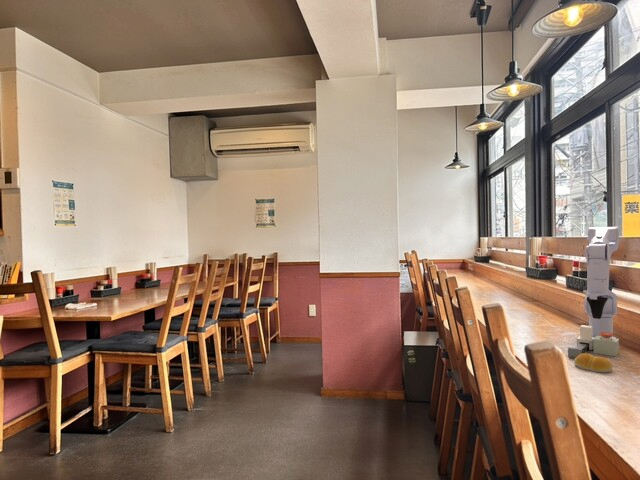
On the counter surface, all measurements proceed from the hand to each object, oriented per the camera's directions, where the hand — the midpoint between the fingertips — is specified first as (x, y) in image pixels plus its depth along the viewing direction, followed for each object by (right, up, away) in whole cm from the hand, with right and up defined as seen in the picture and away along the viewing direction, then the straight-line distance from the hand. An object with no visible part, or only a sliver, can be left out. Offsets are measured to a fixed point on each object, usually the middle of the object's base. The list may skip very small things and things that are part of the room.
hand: (596, 318), depth 139 cm
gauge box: (-2, -10, -7) cm, 12 cm away
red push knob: (-2, -9, -7) cm, 11 cm away
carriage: (-4, -10, -1) cm, 11 cm away
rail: (-8, -10, -5) cm, 14 cm away
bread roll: (-17, -10, -23) cm, 30 cm away
